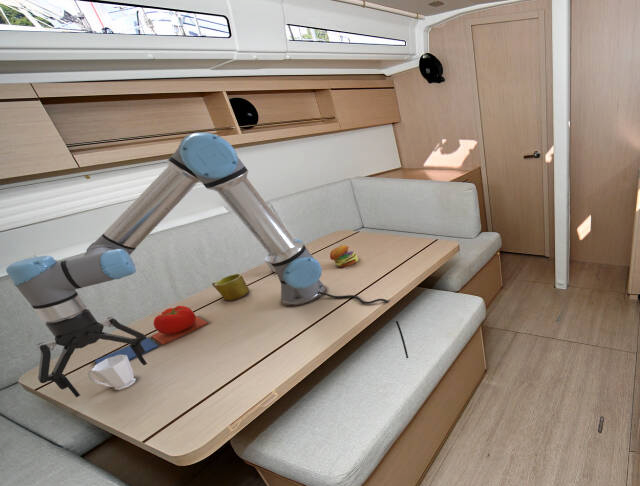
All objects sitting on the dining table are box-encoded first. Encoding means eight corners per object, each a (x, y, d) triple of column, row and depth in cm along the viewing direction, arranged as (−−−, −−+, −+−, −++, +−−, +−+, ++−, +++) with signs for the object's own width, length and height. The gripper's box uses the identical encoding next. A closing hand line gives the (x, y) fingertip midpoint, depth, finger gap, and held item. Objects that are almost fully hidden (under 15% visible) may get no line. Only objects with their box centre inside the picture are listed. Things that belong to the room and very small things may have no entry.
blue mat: (158, 346, 116) (158, 345, 116) (104, 372, 106) (103, 370, 106) (148, 338, 121) (147, 337, 121) (95, 362, 111) (94, 360, 111)
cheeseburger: (356, 266, 162) (345, 247, 157) (335, 273, 162) (323, 255, 158) (361, 256, 171) (351, 239, 166) (341, 264, 171) (330, 246, 167)
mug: (259, 285, 147) (239, 268, 141) (240, 304, 140) (219, 287, 134) (242, 287, 153) (223, 271, 147) (223, 305, 146) (202, 289, 140)
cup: (130, 390, 98) (113, 368, 94) (88, 398, 96) (70, 376, 93) (148, 373, 104) (133, 351, 100) (109, 380, 102) (93, 358, 99)
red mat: (208, 323, 126) (207, 322, 126) (162, 345, 117) (161, 343, 116) (196, 317, 131) (196, 315, 131) (152, 337, 122) (151, 335, 121)
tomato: (178, 338, 118) (167, 320, 115) (152, 337, 120) (141, 319, 117) (207, 320, 128) (198, 302, 124) (183, 319, 130) (173, 302, 126)
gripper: (127, 289, 101) (163, 348, 110) (-17, 338, 82) (41, 404, 91) (136, 295, 97) (172, 355, 106) (-13, 347, 78) (47, 415, 87)
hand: (112, 378), depth 99 cm, fingers open, 13 cm apart
